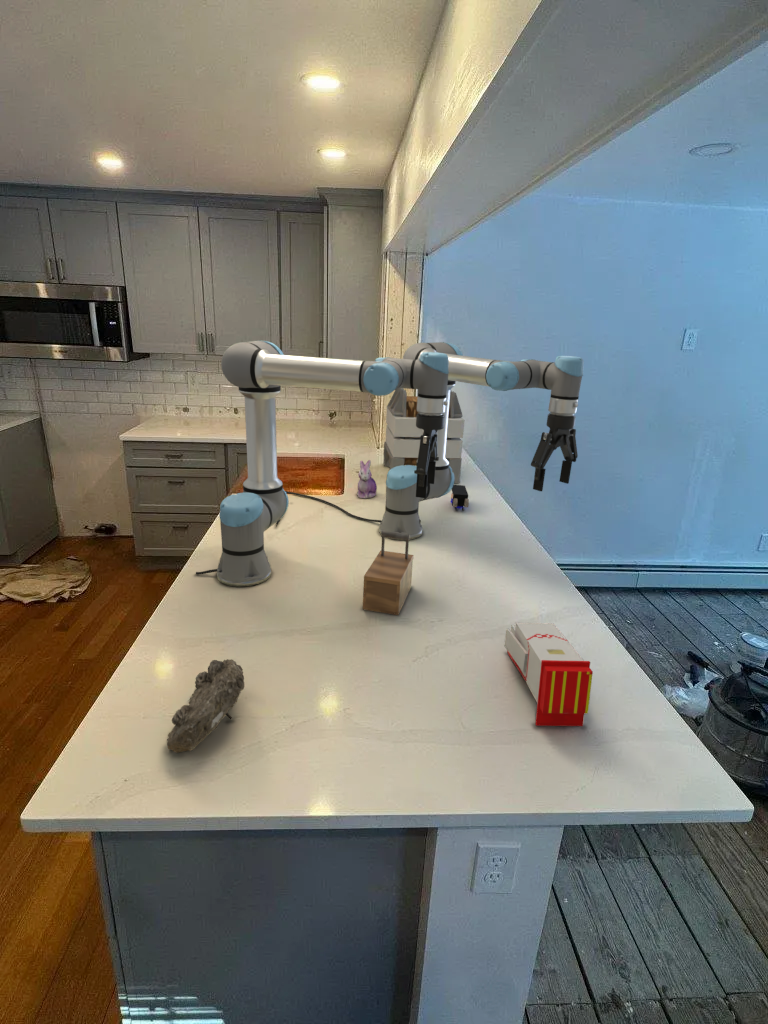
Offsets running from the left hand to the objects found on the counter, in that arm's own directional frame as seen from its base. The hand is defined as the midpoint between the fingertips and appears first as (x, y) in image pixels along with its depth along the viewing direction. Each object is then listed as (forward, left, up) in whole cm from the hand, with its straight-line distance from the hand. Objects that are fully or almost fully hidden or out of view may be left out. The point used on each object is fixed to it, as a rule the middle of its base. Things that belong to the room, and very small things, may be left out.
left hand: (425, 490), depth 157 cm
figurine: (-36, +71, -28) cm, 84 cm away
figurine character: (+3, +70, -28) cm, 76 cm away
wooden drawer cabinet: (-21, +114, -28) cm, 119 cm away
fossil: (-27, -70, -28) cm, 80 cm away
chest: (-6, -13, -28) cm, 31 cm away
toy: (+34, -40, -28) cm, 59 cm away
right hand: (+34, +17, 0) cm, 38 cm away
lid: (-6, -13, -19) cm, 24 cm away
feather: (-59, +37, -28) cm, 75 cm away
